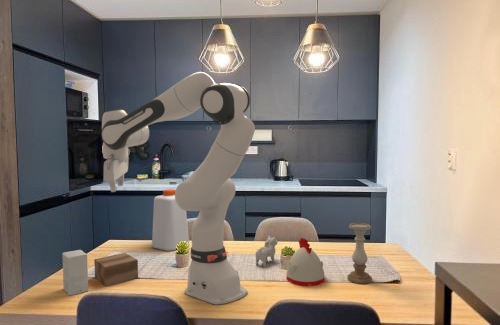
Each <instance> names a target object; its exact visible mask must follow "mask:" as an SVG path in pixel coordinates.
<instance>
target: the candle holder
mask: <svg viewBox="0 0 500 325" xmlns="http://www.w3.org/2000/svg"><path fill="white" fill-rule="evenodd" d="M348 226H349V228H350V229H351V230H353V232H354V233H355V237H354V241H355V248H354V251H353V254H352V256H351V257H352V258H351V259H352V261H353V265H352V267H353V268H354V270H353V271H351V272H350V273H349V274H347V280H348V281H349V282H350V283H354V284H359V285H366V284H370V283H372V282H373V277H372V275H370V274H369V273H368V272H366V269H367V267H368V266H367V265H366V264H367V262H368V259H369V258H368V255H367V253H366V251H365V250H366V249H365V245H364V244H365V241H366V238H365V233H366V232H367V231H369V230H371V228H372V226H371V225H370V224H368V223H363V222H362V223H361V222H353V223H350V224H349V225H348Z"/></svg>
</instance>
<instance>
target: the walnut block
mask: <svg viewBox="0 0 500 325" xmlns="http://www.w3.org/2000/svg"><path fill="white" fill-rule="evenodd" d="M93 262H94V263H93V264H94V278H95V279H96V280H98V281H99V282H100V283H101V284H103V285H104V287H110V286H112V285H117V284H121V283H125V282H128V281H133V280H136V279H137V280H138V279H139V265H138V264H139V263H138V259H137V258H135V257H133V256H132V255H129V254H128V253H126V252H122V253H118V254H113V255H109V256H103V257H99V258H95V259H94V260H93Z"/></svg>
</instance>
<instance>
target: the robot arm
mask: <svg viewBox="0 0 500 325" xmlns="http://www.w3.org/2000/svg"><path fill="white" fill-rule="evenodd" d="M250 104H251V96H250V93H249V92H248V90H247V89H246V88H245V87H244V86H242V85H239V84H236V83H235V84H234V83H228V82H223V83H216V82H215V81H214V79H213V78H212V76H210V75H209V74H208V73H207V72H203V71H199V72H198V71H197V72H195V73H192V74H191V75H188V76H186V77H185V78H183V79H181V80H180V81H178V82H177V83H175V84H174V85H172V86H170V88H168V89H167V90H165V91H164V92H162V93H161V94H160V95H158V96H156V97H155V98H153V99H152V100H151V101H149V102H147V103H145V104H144V105H141V106H139V107H138V108H137V109H134V110H133V111H132V112H129V113H127V112H126V111H125V110H124V109H111V110H106V111H104V113H103V115H102V119H101V135H100V136H101V139H102V142H103V143H102V153H103V154H102V155H103V159H105V161H104V162H103V181H104V182H105V183H108V185H109V187H110V192H111V193H115V192H117V189H118V188H117V186H119V187H122V186H124V180H125V174H126V173H128V171H129V155H131V154H130V149H129V148H130V147H135V146H141V145H143V144H145V143H147V142H148V140H149V138H150V132H151V131H150V127H149V126H150V125H153V124H156V123H162V122H166V121H167V122H168V121H176V120H180V119H183V118H186V117H188V116H190V115H192V114H194V113H195V112H196V111H198V110H200V109H202V111H203V112H204V114H205V115H207V116H208V117H209V118H210V119H211V120H212V121H213V122H214V123H215V124H216V125H218V126H219V125H220V130H219V132H218V133H217V136H216V137H215V140H214V141H213V144H212V145H211V147H210V150H209V151H208V153H207V155H206V157H205V158H204V159H203V161H202V162H201V163H200V165H199V166H198V167H196V168H195V170H194V171H193V173H191V175H189V177H187V178H186V179H185V180H184V181H182V182H180V183H178V185H177V186H176V187H175V190H176V191H175V200H176V202H177V204H178V206H179V207H180V208H181V209H182V210H185V211H186V212H187V211H188V212H199V213H198V215H197V217H196V219H195V220H194V221H193V223H192V225H191V248H190V259H191V262H190V264H189V266H188V270H187V284H186V286H187V287H186V288H185V289H184V294H185V295H187V296H191V297H193V298H195V299H198V300H202V301H203V302H206V303H210V304H213V305H223V304H228V303H232V302H234V301H237V300H239V299H242V298H244V297H245V296H247V294H248V293H249V292H248V289H247V288H245V287H244V286H242V285H241V279H240V275H239V271H238V269H235V268H234V267H233V265H232V264H231V262H230V261H229V260H228V256H229V254H228V253H229V252H228V251H226V247H225V245H224V228H225V227H224V225H225V220H226V216H227V212H228V209H229V205H230V204H231V201H233V199H234V197H235V196H236V186H235V185H236V184H235V183H234V181H233V180H232V179H231V177H233V176H234V175H235V174H236V172H237V171H238V169H239V167H240V165H241V163H242V161H243V159H244V158H245V155H246V154H247V152H248V150H249V148H250V146H251V144H252V141H253V137H254V134H255V130H256V127H255V123H254V122H253V121H252V119H251V118H249V117H248V116H246V115H245V112H246V111H247V110H248V108H249V107H250ZM117 180H118V181H117ZM116 181H117V182H116ZM116 184H117V185H116Z"/></svg>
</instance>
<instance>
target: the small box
mask: <svg viewBox="0 0 500 325" xmlns="http://www.w3.org/2000/svg"><path fill="white" fill-rule="evenodd" d="M61 256H62V257H61V258H62V277H63V278H62V279H63V280H62V281H63V282H62V284H63V287H62V288H63V290H64V291H65V292H66V293H67V295H68V296H73V295H74V296H75V295H78V294H82V293H85V292H88V291H89V271H88V254H87V253H86V252H84V251H83V250H82V249H77V250H70V251H64V252H62V253H61Z"/></svg>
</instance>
